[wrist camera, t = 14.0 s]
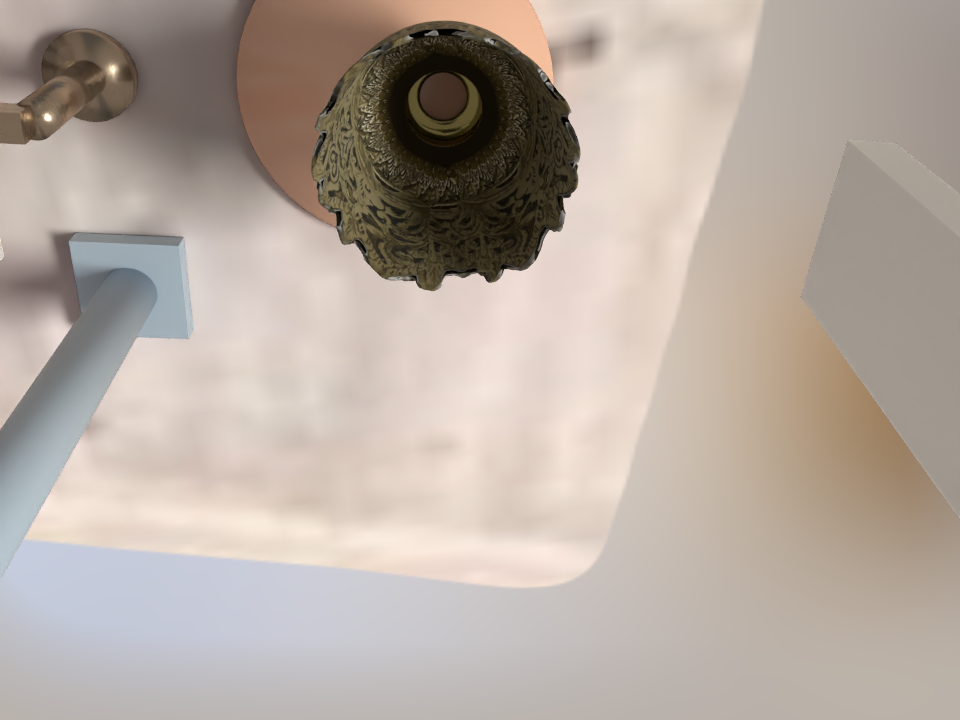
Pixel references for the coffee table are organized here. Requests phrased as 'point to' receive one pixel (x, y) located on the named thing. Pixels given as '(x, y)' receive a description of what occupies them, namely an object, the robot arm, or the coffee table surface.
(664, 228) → the coffee table surface
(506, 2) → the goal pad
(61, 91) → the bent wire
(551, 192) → the ornate lamp shade
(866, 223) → the robot arm
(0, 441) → the gate
